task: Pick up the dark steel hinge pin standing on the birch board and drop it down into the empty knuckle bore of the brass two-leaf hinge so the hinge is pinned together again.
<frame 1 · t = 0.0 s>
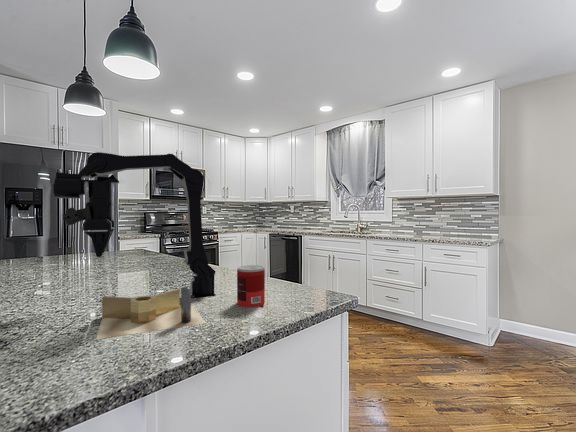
hand: (100, 254, 88), 15 cm above the counter, fingers open, 9 cm apart
pin: (186, 321, 75), point 1 cm above the counter, touching mounting board
hinge: (143, 322, 76), resting on mounting board
canned food: (251, 306, 90), on the counter
mounting board: (152, 322, 76), on the counter
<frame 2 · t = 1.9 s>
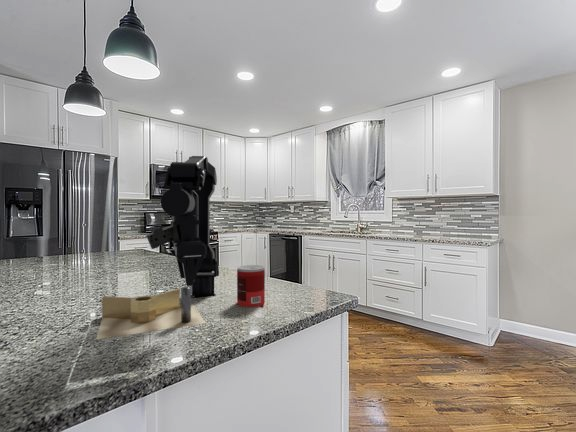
hand: (186, 281, 75), 10 cm above the counter, fingers open, 9 cm apart
nothing on the counter moved.
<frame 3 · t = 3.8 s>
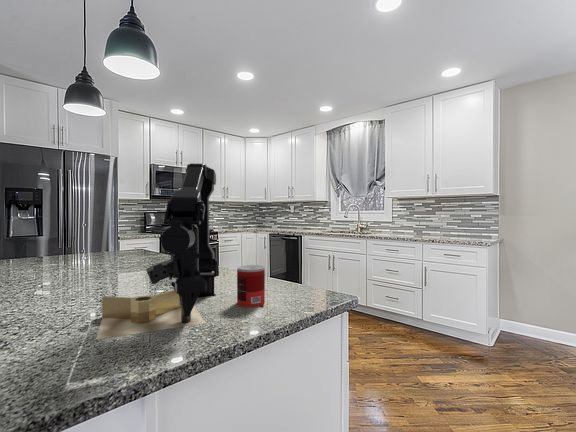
hand: (186, 314, 75), 2 cm above the counter, fingers closed on pin, 2 cm apart
pin: (186, 321, 75), point 1 cm above the counter, touching gripper, mounting board
everything else where it was.
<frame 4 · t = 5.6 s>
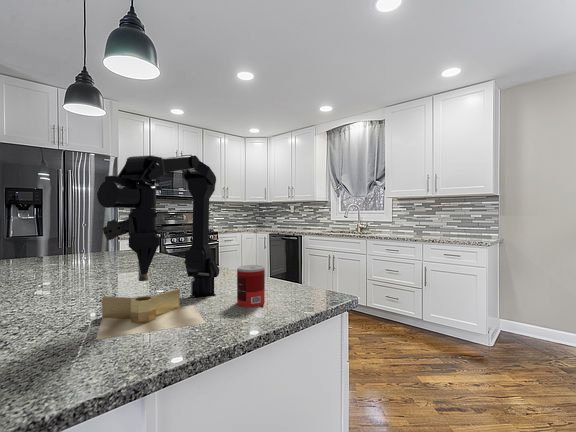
hand: (143, 273, 76), 12 cm above the counter, fingers closed on pin, 2 cm apart
pin: (143, 280, 76), point 10 cm above the counter, touching gripper
everything else where it was.
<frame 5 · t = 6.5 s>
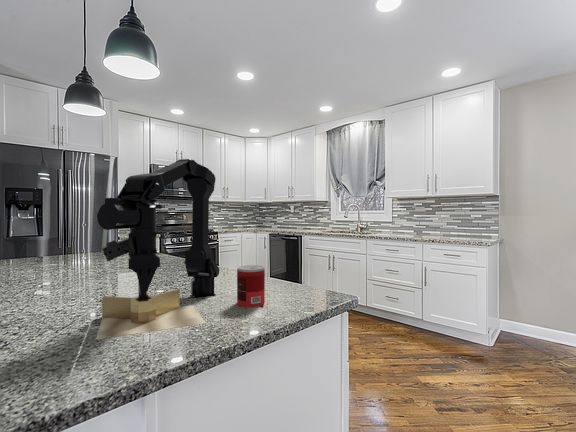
hand: (143, 292, 76), 7 cm above the counter, fingers closed on pin, 2 cm apart
pin: (143, 299, 76), point 6 cm above the counter, touching gripper
everything else where it was.
when the fingers open (7 cm above the counter, at t = 7.3 s): pin drops 4 cm, resting on mounting board.
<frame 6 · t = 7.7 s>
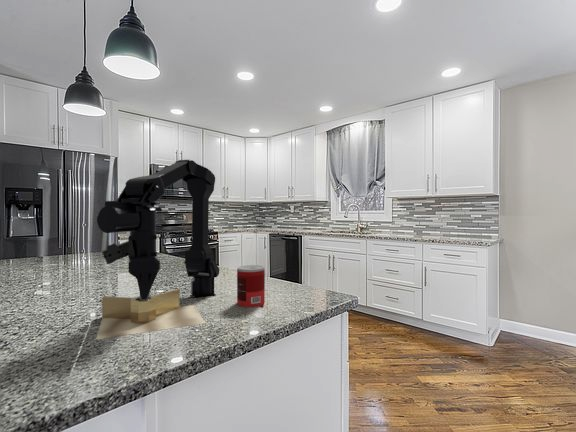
hand: (143, 295, 76), 7 cm above the counter, fingers open, 7 cm apart
pin: (143, 319, 76), point 1 cm above the counter, touching mounting board
everything else where it was.
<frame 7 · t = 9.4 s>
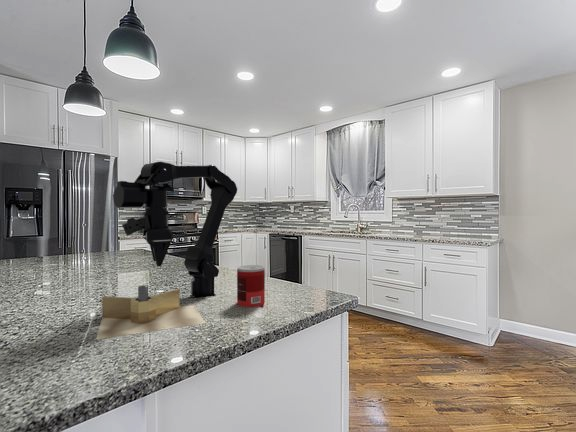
hand: (157, 263, 88), 12 cm above the counter, fingers open, 9 cm apart
nothing on the counter moved.
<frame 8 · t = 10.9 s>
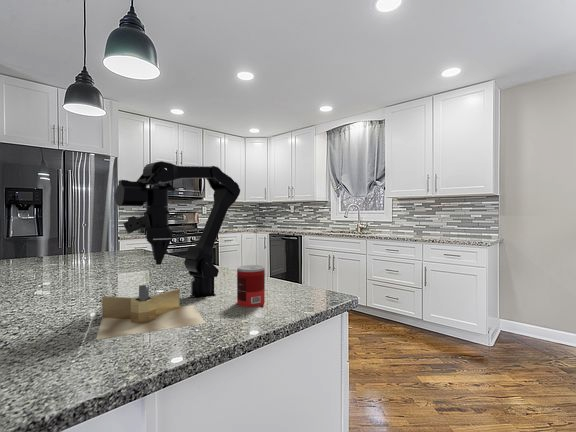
hand: (157, 262, 89), 13 cm above the counter, fingers open, 9 cm apart
nothing on the counter moved.
at the end: pin 0.0 cm off-centre on the hinge, point 0.9 cm above the hinge's base; pin tilted 3°; the gripper is holding nothing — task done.
